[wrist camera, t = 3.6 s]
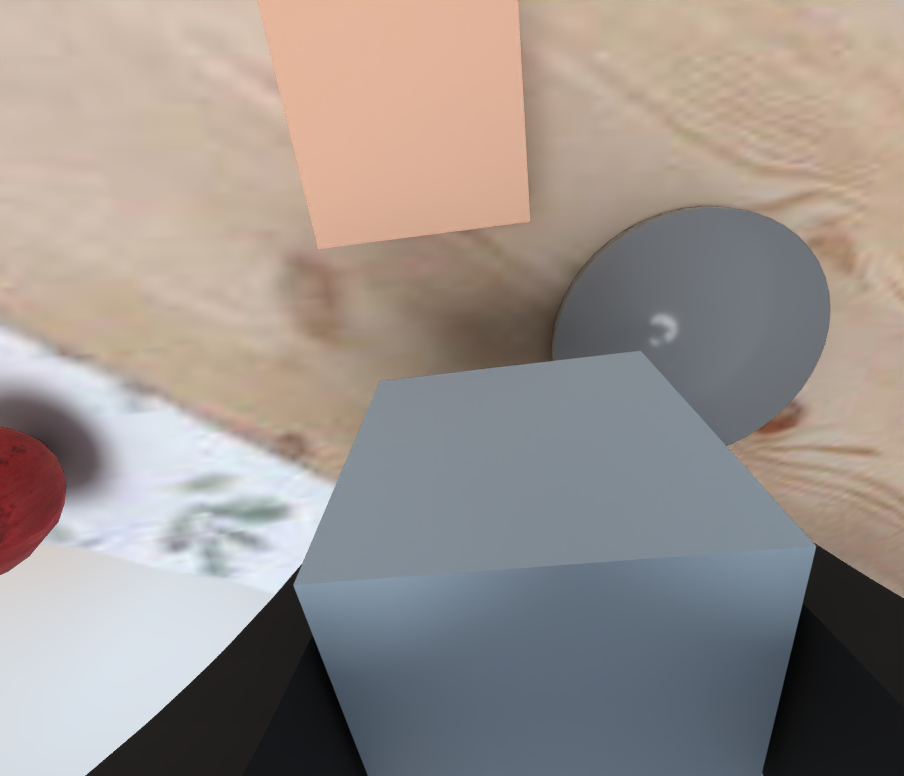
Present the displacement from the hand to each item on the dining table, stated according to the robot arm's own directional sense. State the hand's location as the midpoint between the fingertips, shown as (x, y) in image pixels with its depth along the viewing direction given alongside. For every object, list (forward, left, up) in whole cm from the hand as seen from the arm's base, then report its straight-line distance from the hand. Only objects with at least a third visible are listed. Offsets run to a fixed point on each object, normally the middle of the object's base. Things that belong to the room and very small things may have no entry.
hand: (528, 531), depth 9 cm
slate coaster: (-5, -3, -10) cm, 11 cm away
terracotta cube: (+5, -5, -10) cm, 12 cm away
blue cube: (0, 0, -2) cm, 2 cm away
